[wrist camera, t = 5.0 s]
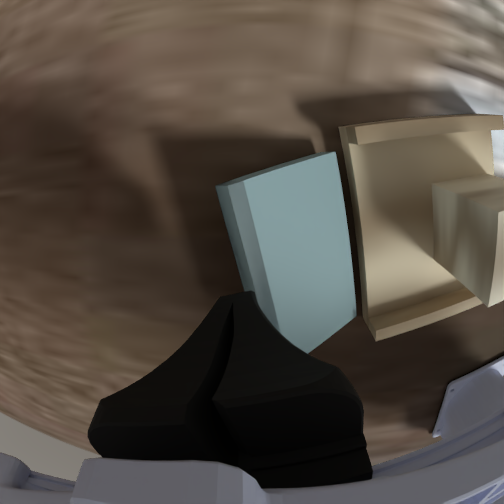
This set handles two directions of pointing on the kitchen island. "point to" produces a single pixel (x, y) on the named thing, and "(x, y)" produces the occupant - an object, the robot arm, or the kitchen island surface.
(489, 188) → the beige rectangular block
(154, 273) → the kitchen island surface
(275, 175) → the panel
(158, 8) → the kitchen island surface
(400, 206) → the bed
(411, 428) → the kitchen island surface
